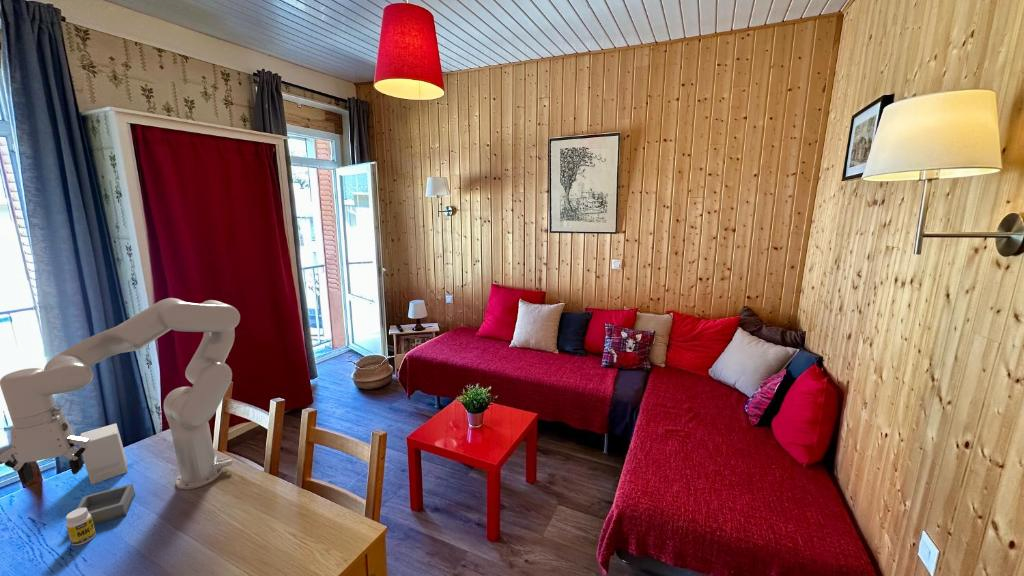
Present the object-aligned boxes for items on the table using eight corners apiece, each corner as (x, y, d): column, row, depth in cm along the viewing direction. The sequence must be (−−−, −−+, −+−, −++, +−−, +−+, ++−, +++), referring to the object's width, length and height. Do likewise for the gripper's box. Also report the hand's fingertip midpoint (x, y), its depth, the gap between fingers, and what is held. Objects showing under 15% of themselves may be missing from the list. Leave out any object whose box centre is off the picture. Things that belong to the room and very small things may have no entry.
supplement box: (127, 460, 145) (117, 422, 142) (128, 472, 139) (117, 433, 135) (91, 472, 139) (79, 432, 136) (90, 485, 133) (78, 444, 129)
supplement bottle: (80, 547, 110) (72, 521, 108) (66, 544, 111) (58, 518, 109) (101, 533, 114) (93, 507, 112) (87, 530, 115) (80, 505, 113)
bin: (135, 494, 129) (132, 483, 128) (125, 515, 120) (122, 504, 119) (87, 507, 123) (84, 496, 123) (73, 531, 115) (70, 519, 114)
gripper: (88, 403, 111) (103, 459, 115) (-1, 416, 104) (19, 475, 108) (71, 417, 104) (88, 476, 108) (-25, 432, 98) (-3, 494, 102)
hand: (53, 475), depth 108 cm, fingers open, 9 cm apart
